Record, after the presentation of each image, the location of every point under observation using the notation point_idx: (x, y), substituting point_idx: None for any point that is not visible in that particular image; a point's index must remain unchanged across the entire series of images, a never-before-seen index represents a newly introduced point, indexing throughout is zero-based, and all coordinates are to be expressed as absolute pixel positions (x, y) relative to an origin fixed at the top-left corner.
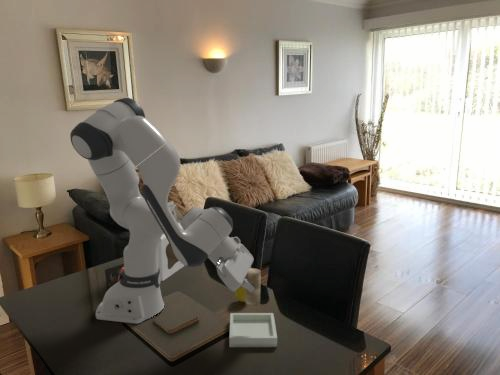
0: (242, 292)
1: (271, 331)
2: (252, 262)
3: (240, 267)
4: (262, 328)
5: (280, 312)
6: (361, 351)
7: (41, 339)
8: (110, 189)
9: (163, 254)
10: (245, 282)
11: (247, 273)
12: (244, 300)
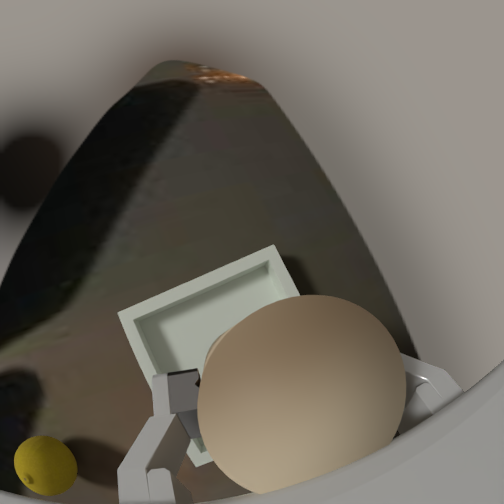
0: (62, 465)
1: (207, 293)
2: (35, 499)
3: (478, 501)
4: (203, 330)
5: (66, 308)
6: (194, 83)
7: None
8: None
9: None
10: (444, 377)
11: (391, 436)
12: (67, 447)
